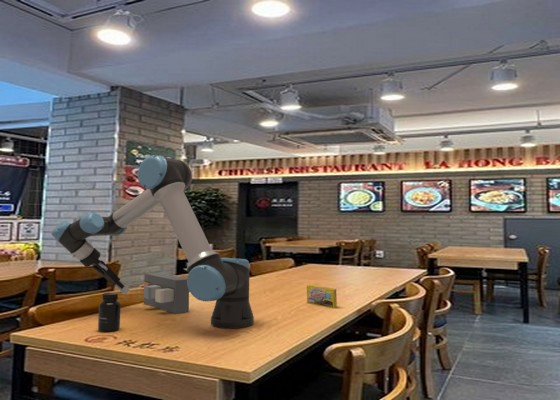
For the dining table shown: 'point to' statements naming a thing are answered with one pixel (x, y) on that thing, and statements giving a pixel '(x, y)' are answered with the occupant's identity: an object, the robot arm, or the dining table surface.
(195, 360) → the dining table surface
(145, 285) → the terracotta button
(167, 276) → the console
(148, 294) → the slate button
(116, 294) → the supplement bottle
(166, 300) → the cream button
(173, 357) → the dining table surface
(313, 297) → the candy box
